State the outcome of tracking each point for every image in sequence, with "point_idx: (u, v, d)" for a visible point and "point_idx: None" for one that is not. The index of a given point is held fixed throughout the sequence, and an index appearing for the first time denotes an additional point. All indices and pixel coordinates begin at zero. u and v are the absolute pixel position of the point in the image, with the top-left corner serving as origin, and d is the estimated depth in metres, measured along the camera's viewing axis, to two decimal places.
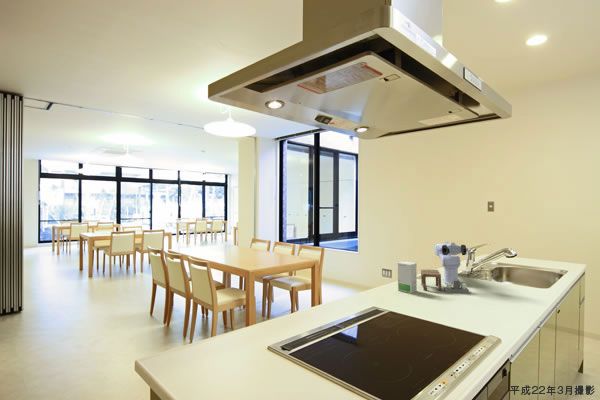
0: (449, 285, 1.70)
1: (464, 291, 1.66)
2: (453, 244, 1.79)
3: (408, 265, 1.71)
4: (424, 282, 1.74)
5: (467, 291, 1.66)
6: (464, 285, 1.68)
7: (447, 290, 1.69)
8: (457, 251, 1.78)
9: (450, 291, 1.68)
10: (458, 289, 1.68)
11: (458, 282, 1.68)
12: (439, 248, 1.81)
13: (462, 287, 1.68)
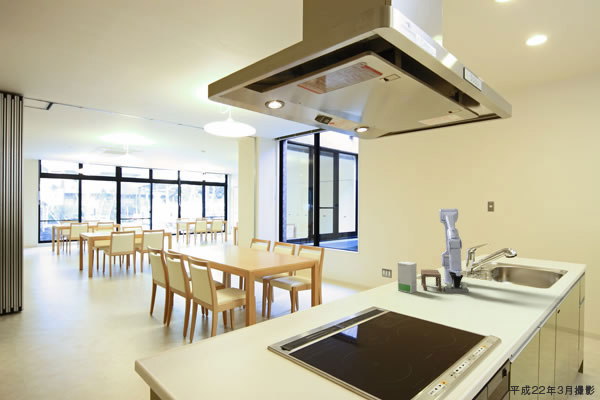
0: (449, 284, 1.70)
1: (464, 291, 1.66)
2: None
3: (408, 265, 1.71)
4: (424, 282, 1.74)
5: (467, 291, 1.66)
6: (464, 285, 1.68)
7: (447, 289, 1.69)
8: None
9: (450, 290, 1.69)
10: (458, 289, 1.68)
11: None
12: None
13: (462, 287, 1.68)
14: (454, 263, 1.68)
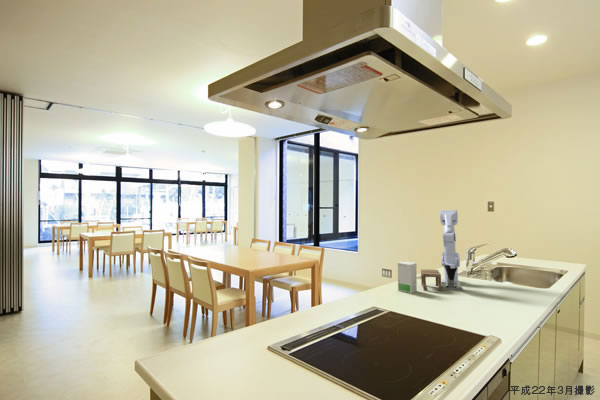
0: (444, 284, 1.75)
1: (458, 289, 1.72)
2: (444, 263, 1.77)
3: (408, 265, 1.71)
4: (424, 282, 1.74)
5: (461, 289, 1.72)
6: (458, 284, 1.73)
7: (442, 289, 1.75)
8: None
9: (445, 289, 1.74)
10: (452, 288, 1.73)
11: (452, 281, 1.74)
12: None
13: (456, 286, 1.74)
14: (449, 256, 1.74)
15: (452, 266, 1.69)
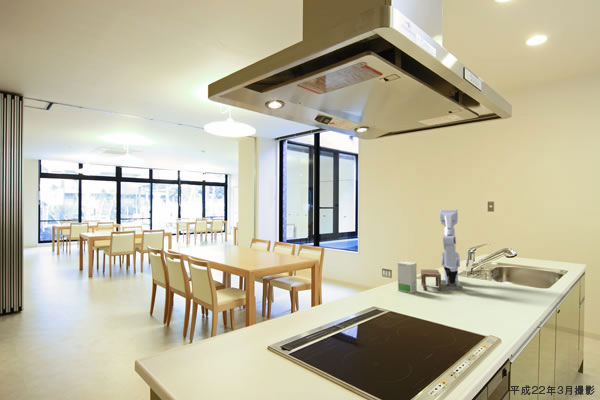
0: (443, 282, 1.76)
1: (458, 288, 1.73)
2: None
3: (408, 265, 1.71)
4: (424, 282, 1.74)
5: (461, 288, 1.72)
6: (458, 282, 1.74)
7: (442, 287, 1.75)
8: None
9: (444, 288, 1.75)
10: (452, 286, 1.74)
11: None
12: None
13: (456, 284, 1.74)
14: (449, 259, 1.74)
15: (452, 269, 1.69)
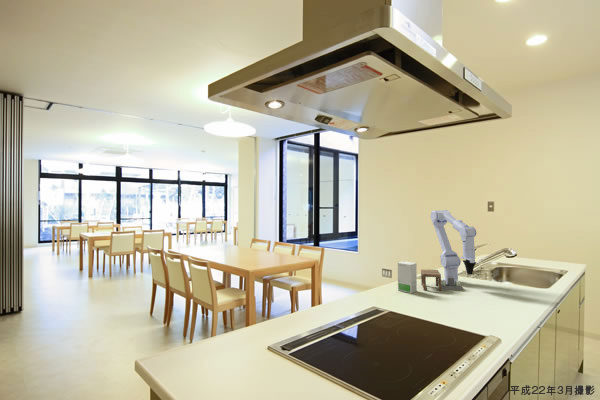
0: (443, 282, 1.76)
1: (458, 288, 1.73)
2: (463, 258, 1.74)
3: (408, 265, 1.71)
4: (424, 282, 1.74)
5: (461, 288, 1.72)
6: (458, 282, 1.74)
7: (442, 287, 1.75)
8: None
9: (444, 288, 1.75)
10: (452, 286, 1.74)
11: (452, 279, 1.74)
12: None
13: (456, 284, 1.74)
14: (467, 251, 1.71)
15: (471, 261, 1.67)
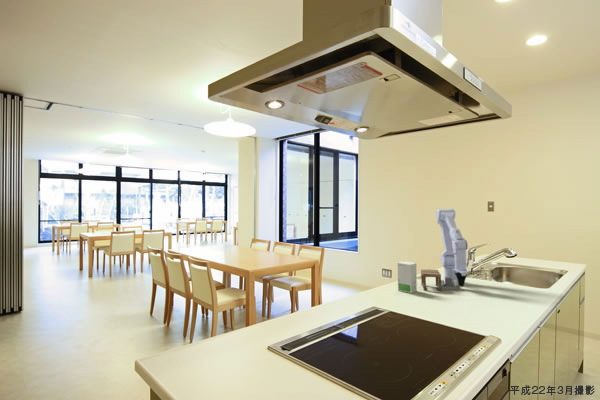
0: (441, 282, 1.76)
1: (456, 288, 1.73)
2: None
3: (408, 265, 1.71)
4: (424, 282, 1.74)
5: (459, 288, 1.73)
6: (456, 282, 1.74)
7: None
8: None
9: (442, 288, 1.75)
10: (450, 286, 1.74)
11: (450, 279, 1.74)
12: None
13: (454, 284, 1.75)
14: (459, 263, 1.72)
15: (463, 273, 1.68)
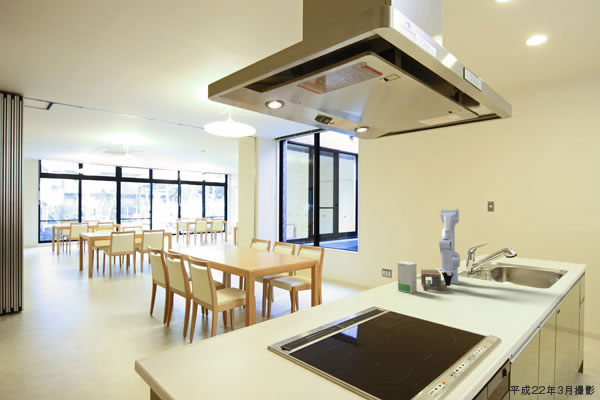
0: (428, 282, 1.78)
1: (442, 287, 1.75)
2: None
3: (408, 265, 1.71)
4: (424, 282, 1.74)
5: (445, 287, 1.74)
6: (442, 282, 1.76)
7: (426, 287, 1.77)
8: None
9: (429, 288, 1.76)
10: (436, 286, 1.76)
11: (436, 279, 1.76)
12: None
13: None
14: (445, 263, 1.74)
15: (449, 273, 1.70)
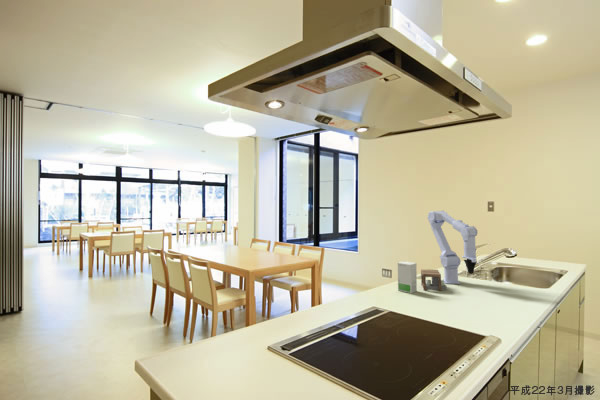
0: (428, 282, 1.78)
1: (442, 287, 1.75)
2: (464, 257, 1.76)
3: (408, 265, 1.71)
4: (424, 282, 1.74)
5: (445, 287, 1.74)
6: (442, 282, 1.76)
7: (426, 287, 1.77)
8: None
9: (429, 288, 1.76)
10: (436, 286, 1.76)
11: (436, 279, 1.76)
12: None
13: None
14: (469, 250, 1.73)
15: (474, 260, 1.68)
